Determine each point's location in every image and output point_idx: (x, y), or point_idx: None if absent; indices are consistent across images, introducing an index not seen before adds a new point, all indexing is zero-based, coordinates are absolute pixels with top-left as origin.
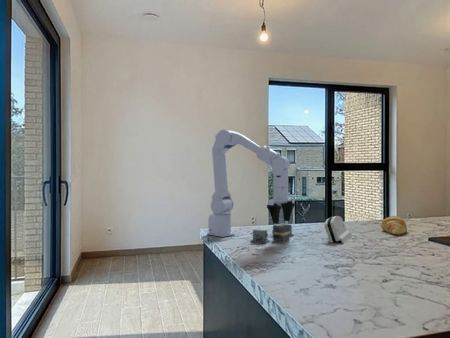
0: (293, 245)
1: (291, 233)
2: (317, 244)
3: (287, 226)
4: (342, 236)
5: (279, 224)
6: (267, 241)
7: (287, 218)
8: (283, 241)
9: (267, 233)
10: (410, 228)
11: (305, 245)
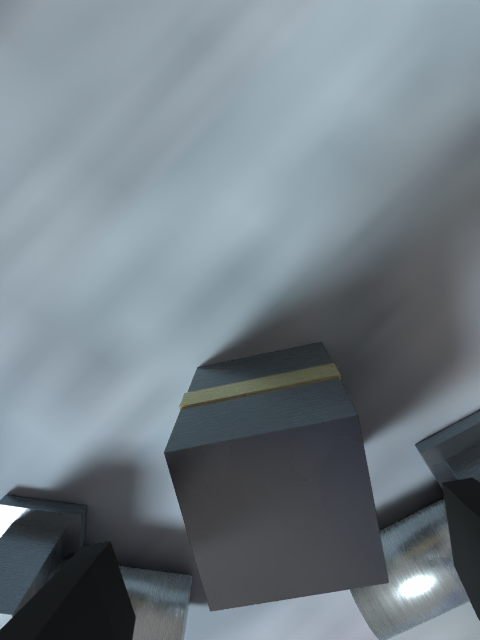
0: (352, 147)
1: (10, 527)
2: (86, 9)
3: (220, 432)
4: None
5: (261, 570)
6: (475, 420)
7: (100, 599)
8: (309, 346)
9: None
10: None
11: (242, 59)
